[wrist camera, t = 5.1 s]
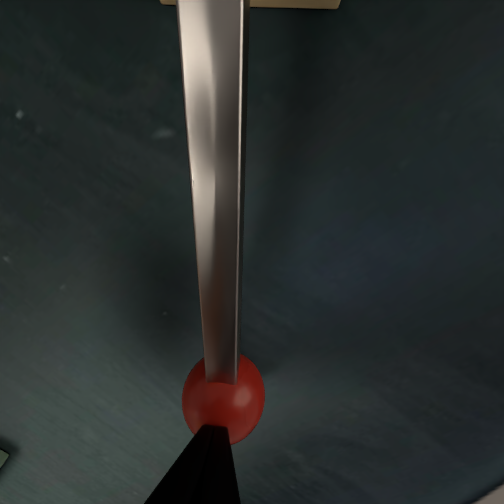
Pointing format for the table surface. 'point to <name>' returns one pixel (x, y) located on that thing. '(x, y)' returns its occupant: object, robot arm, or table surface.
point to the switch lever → (218, 209)
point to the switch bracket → (285, 3)
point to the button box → (3, 457)
